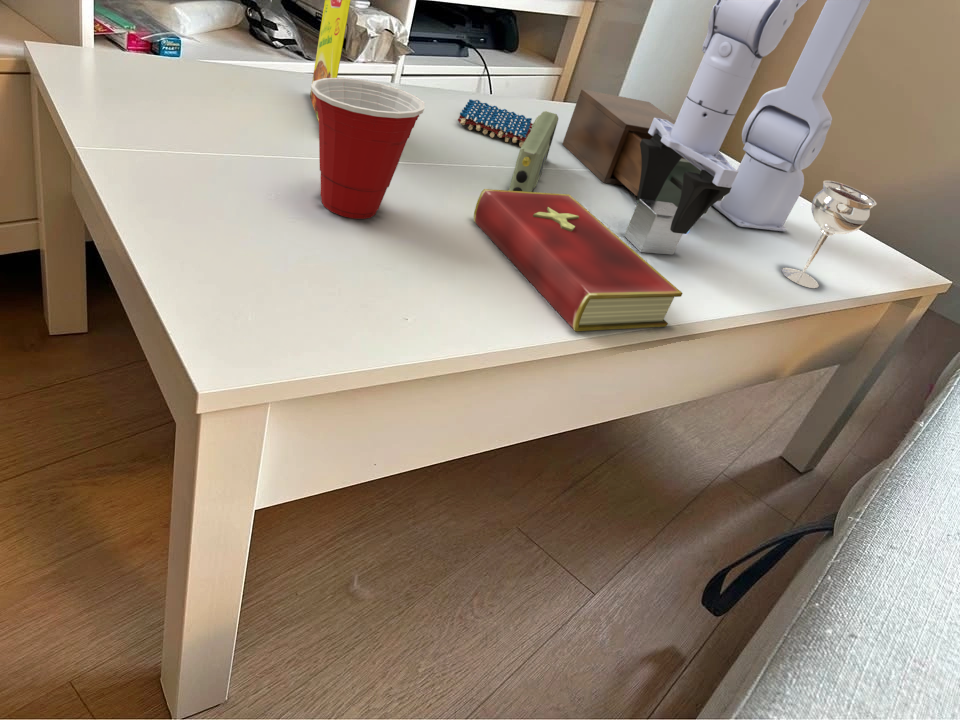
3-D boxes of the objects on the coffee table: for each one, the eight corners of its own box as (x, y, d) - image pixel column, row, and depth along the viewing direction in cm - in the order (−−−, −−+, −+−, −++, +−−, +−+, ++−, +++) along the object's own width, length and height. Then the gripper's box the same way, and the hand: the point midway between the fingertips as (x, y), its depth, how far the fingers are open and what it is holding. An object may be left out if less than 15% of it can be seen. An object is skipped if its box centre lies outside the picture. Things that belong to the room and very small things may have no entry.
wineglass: (766, 268, 98) (814, 182, 91) (787, 261, 102) (834, 178, 96) (813, 296, 95) (866, 208, 88) (833, 286, 99) (884, 203, 93)
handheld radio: (548, 161, 109) (521, 223, 87) (526, 154, 109) (493, 214, 88) (562, 115, 105) (537, 167, 84) (539, 108, 105) (508, 159, 84)
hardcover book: (571, 331, 70) (587, 292, 68) (471, 221, 84) (481, 186, 82) (666, 326, 76) (683, 290, 74) (558, 224, 90) (570, 192, 88)
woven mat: (525, 150, 110) (529, 136, 109) (455, 126, 110) (458, 112, 108) (532, 130, 119) (536, 117, 118) (467, 108, 118) (470, 95, 117)
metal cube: (656, 238, 96) (672, 202, 93) (673, 255, 93) (690, 218, 90) (623, 235, 93) (639, 198, 91) (640, 252, 90) (656, 214, 88)
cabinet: (673, 192, 113) (698, 136, 109) (603, 182, 108) (626, 124, 103) (628, 154, 123) (649, 101, 118) (562, 143, 117) (581, 88, 113)
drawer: (724, 228, 103) (747, 182, 99) (657, 221, 98) (679, 172, 94) (659, 175, 115) (678, 131, 111) (597, 166, 110) (614, 120, 106)
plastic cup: (340, 174, 84) (360, 65, 78) (418, 216, 81) (446, 106, 75) (270, 193, 76) (287, 73, 69) (355, 241, 73) (380, 119, 66)
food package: (306, 95, 103) (331, -68, 92) (314, 96, 103) (340, -66, 92) (321, 139, 91) (352, -41, 81) (330, 140, 92) (362, -39, 81)
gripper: (648, 76, 87) (604, 185, 94) (722, 125, 77) (666, 244, 84) (695, 86, 90) (650, 191, 97) (772, 134, 80) (715, 248, 87)
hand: (661, 216), depth 91 cm, fingers open, 7 cm apart
